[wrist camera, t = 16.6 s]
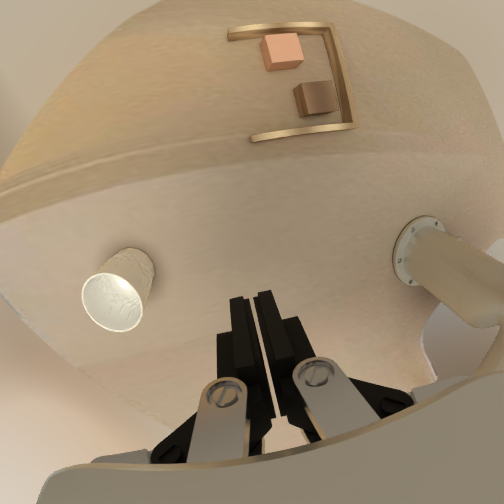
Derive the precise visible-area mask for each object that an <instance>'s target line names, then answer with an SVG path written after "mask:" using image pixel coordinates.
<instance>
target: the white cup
mask: <svg viewBox="0 0 504 504" xmlns="http://www.w3.org/2000/svg"><path fill="white" fill-rule="evenodd" d="M154 274H155V272H154V266H153V263H152V261H151V260H150V258H149V257H148V255H146V254H145V253H143V252H142V251H140V250H139V249H133V248H126V249H123V250H120V251H119V252H118V253H117V254H116V255H115V256H113V257H112V258H110V259H109V260H108V261H107V262H105V263H104V264H103V265H102V266H101V267H100V268H99V269H98V270H97V271H96V272H95V273H94V274H93V275H92V276H91V277H90V278H89V279H88V280H87V281H86V282H85V284H84V286H83V289H82V302H83V305H84V308H85V310H86V312H87V313H88V315H89V316H90V317H91V319H92V320H93V321H94V322H96V323H97V324H98V325H100V326H101V327H103V328H105V329H107V330H110V331H115V332H125V331H129V330H131V329H133V328H134V327H136V326H137V325H138V323H139V322H140V320H141V318H142V315H143V312H144V309H145V306H146V303H147V300H148V297H149V293H150V290H151V286H152V281H153V278H154Z"/></svg>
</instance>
